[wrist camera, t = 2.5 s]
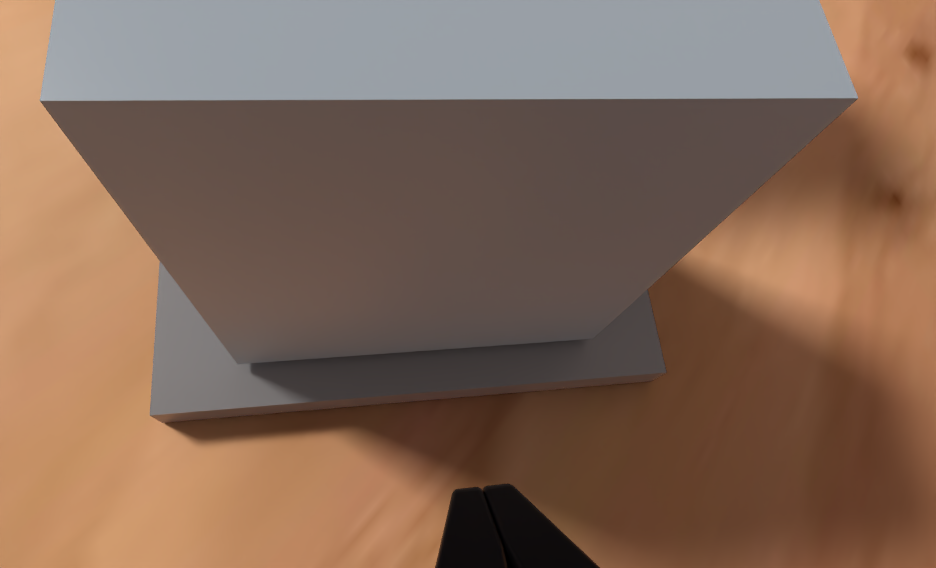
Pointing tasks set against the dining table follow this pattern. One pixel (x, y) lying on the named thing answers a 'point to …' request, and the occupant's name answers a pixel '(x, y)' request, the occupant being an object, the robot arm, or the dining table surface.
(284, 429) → the dining table surface
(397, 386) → the plate
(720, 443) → the dining table surface
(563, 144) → the blue-gray rectangular block
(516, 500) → the robot arm
